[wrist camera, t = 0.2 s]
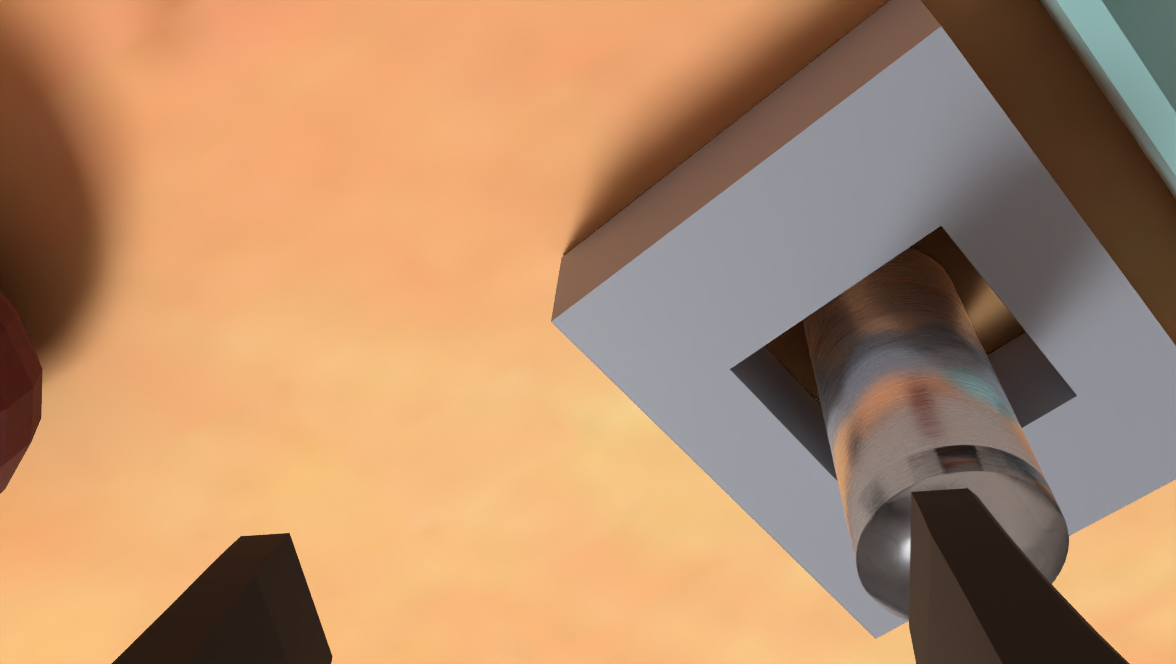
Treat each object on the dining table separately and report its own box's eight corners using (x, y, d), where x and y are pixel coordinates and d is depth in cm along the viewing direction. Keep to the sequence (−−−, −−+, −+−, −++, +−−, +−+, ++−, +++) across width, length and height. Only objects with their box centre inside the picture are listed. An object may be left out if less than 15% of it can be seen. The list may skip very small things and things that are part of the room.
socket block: (1189, 367, 22) (1246, 442, 20) (856, 556, 25) (875, 638, 23) (909, -16, 19) (941, 26, 17) (562, 257, 22) (550, 321, 20)
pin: (986, 320, 22) (1108, 564, 16) (859, 400, 23) (929, 656, 17) (900, 215, 21) (996, 435, 15) (772, 304, 22) (814, 541, 16)
